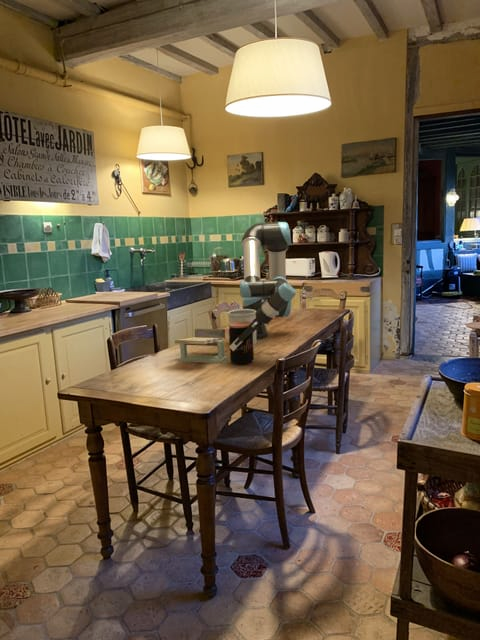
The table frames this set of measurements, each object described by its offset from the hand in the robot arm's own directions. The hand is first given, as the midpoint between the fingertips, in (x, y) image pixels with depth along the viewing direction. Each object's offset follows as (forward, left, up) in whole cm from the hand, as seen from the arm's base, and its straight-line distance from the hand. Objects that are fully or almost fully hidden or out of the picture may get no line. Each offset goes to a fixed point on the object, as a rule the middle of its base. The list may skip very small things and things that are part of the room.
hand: (235, 345), depth 226 cm
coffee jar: (0, +3, -8) cm, 8 cm away
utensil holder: (-33, -7, -8) cm, 35 cm away
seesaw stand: (-1, -17, -8) cm, 19 cm away
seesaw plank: (0, -17, -1) cm, 17 cm away
